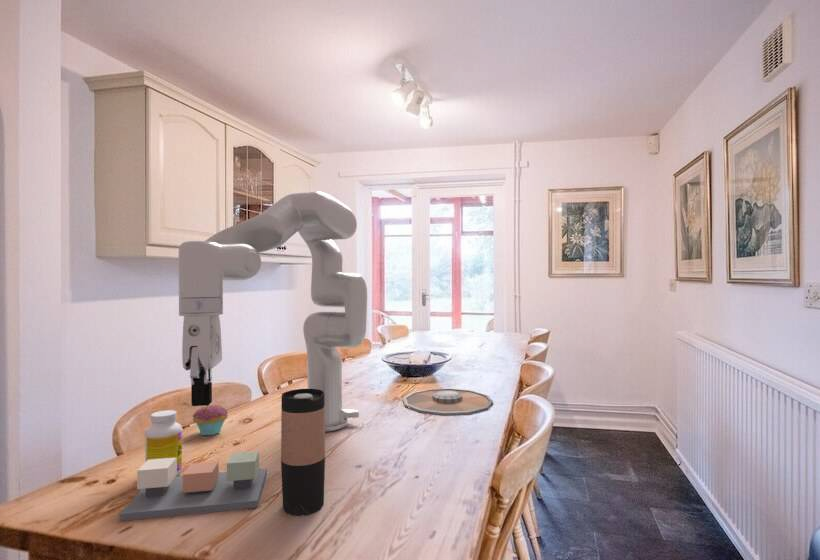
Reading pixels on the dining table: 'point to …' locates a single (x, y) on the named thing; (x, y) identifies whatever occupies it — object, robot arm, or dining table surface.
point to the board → (195, 498)
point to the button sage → (242, 466)
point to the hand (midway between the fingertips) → (201, 404)
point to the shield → (447, 401)
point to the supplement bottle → (164, 438)
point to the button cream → (156, 473)
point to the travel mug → (303, 451)
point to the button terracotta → (200, 477)
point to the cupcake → (210, 419)
